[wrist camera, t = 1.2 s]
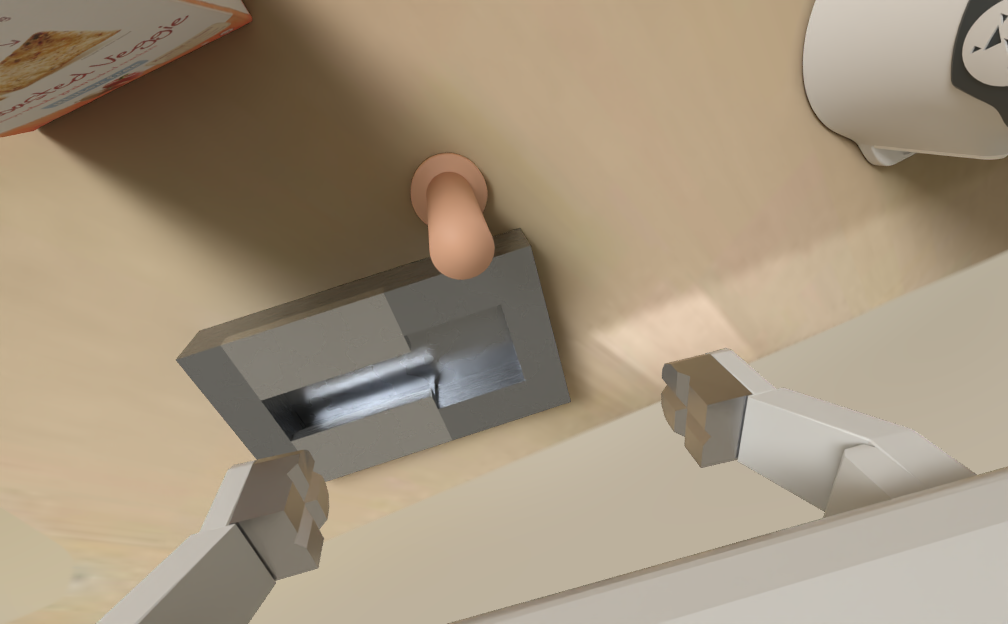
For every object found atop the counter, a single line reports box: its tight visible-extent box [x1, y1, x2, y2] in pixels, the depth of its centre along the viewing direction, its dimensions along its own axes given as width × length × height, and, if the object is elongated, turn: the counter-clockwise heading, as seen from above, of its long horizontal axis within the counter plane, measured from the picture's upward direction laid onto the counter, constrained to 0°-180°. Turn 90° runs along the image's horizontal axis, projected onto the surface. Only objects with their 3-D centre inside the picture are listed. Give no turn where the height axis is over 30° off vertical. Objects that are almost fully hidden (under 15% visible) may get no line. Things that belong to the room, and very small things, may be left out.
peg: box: [411, 153, 495, 280], centre depth 26 cm, size 5×5×11 cm
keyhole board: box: [176, 228, 571, 482], centre depth 34 cm, size 24×14×4 cm, turn 105°
